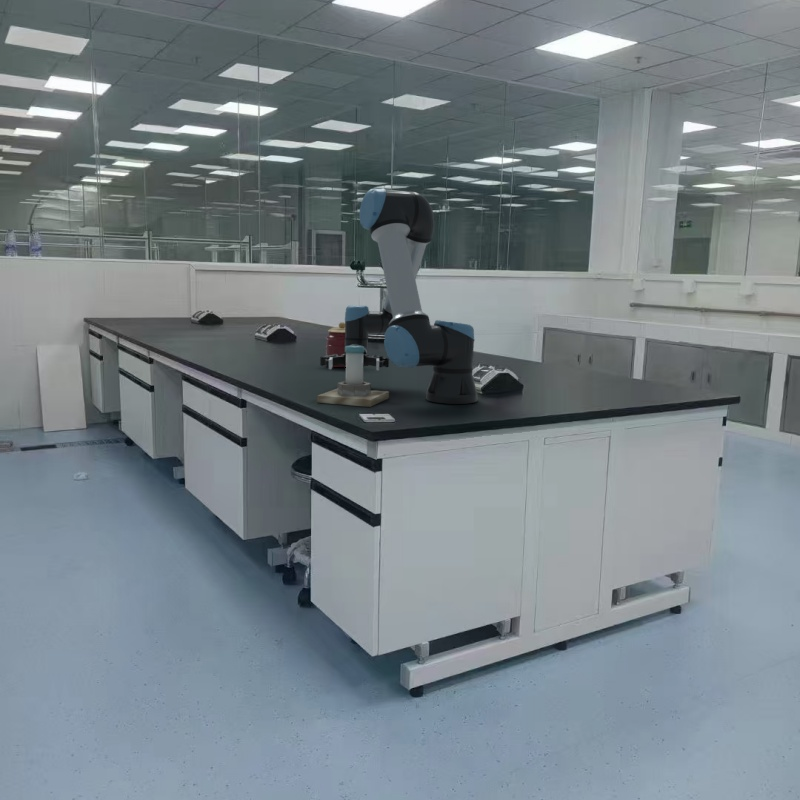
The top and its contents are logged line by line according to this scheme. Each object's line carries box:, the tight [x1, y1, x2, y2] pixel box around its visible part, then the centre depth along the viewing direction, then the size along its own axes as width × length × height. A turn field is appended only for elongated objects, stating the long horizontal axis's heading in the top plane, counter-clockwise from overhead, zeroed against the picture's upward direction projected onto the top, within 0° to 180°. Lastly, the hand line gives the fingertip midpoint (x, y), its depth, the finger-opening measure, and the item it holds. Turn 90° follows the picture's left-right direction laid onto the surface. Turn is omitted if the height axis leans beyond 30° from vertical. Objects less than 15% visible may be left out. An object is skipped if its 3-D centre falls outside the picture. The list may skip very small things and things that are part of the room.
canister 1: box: [325, 321, 346, 369], centre depth 283 cm, size 13×13×18 cm
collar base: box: [316, 380, 390, 408], centre depth 206 cm, size 16×16×5 cm
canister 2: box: [345, 346, 364, 385], centre depth 205 cm, size 5×5×14 cm
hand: (354, 365), depth 202 cm, fingers open, 13 cm apart
